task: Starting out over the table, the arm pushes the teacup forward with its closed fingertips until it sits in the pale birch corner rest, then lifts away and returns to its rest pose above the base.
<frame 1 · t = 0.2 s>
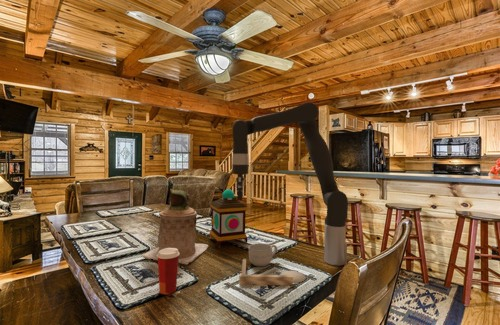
hand: (240, 198, 117), 29 cm above the table, fingers open, 8 cm apart
decorative lantern: (227, 241, 145), on the table
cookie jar: (177, 253, 125), on the table
teacup: (263, 263, 114), on the table
felt coaster: (292, 276, 101), on the table
cup rest: (264, 274, 103), on the table
paper cup: (167, 291, 89), on the table
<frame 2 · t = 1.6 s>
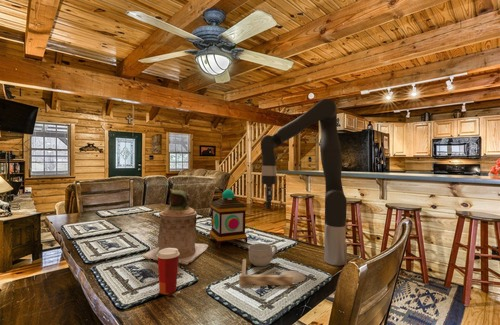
hand: (268, 208, 129), 22 cm above the table, fingers closed
nothing on the table moved.
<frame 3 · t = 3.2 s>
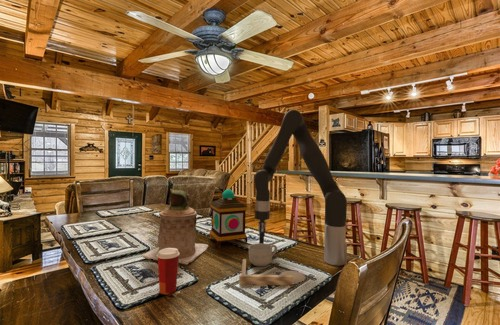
hand: (261, 243, 128), 5 cm above the table, fingers closed
nothing on the table moved.
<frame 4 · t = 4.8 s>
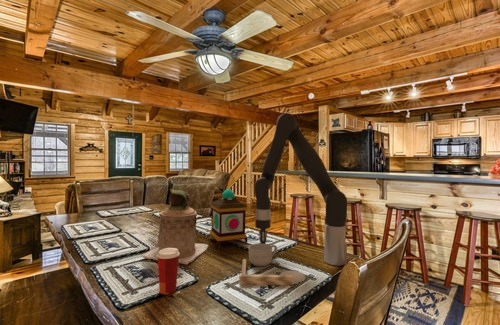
hand: (262, 252, 124), 1 cm above the table, fingers closed
nothing on the table moved.
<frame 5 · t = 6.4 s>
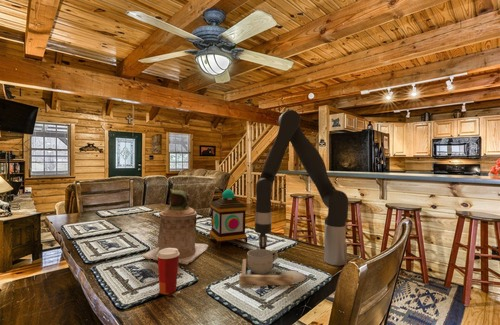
hand: (262, 259, 116), 1 cm above the table, fingers closed
teacup: (263, 271, 106), on the table, touching hand
everything else where it was.
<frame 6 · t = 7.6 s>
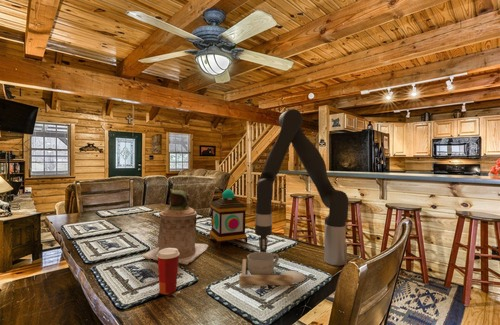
hand: (262, 262, 112), 1 cm above the table, fingers closed
teacup: (264, 274, 103), on the table, touching hand
everything else where it was.
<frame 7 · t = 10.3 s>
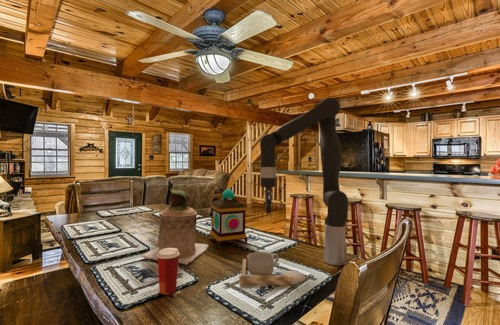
hand: (268, 213, 119), 22 cm above the table, fingers closed
teacup: (264, 275, 103), on the table
everything else where it was.
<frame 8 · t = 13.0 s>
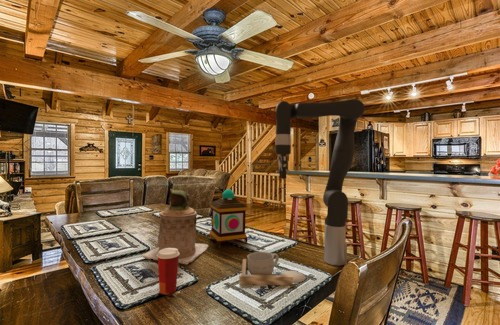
hand: (282, 178, 121), 38 cm above the table, fingers open, 8 cm apart
nothing on the table moved.
at the end: teacup inside the target area (0.3 cm from its centre), on the table; teacup tilted 0°; teacup moved 11.2 cm from its start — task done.
